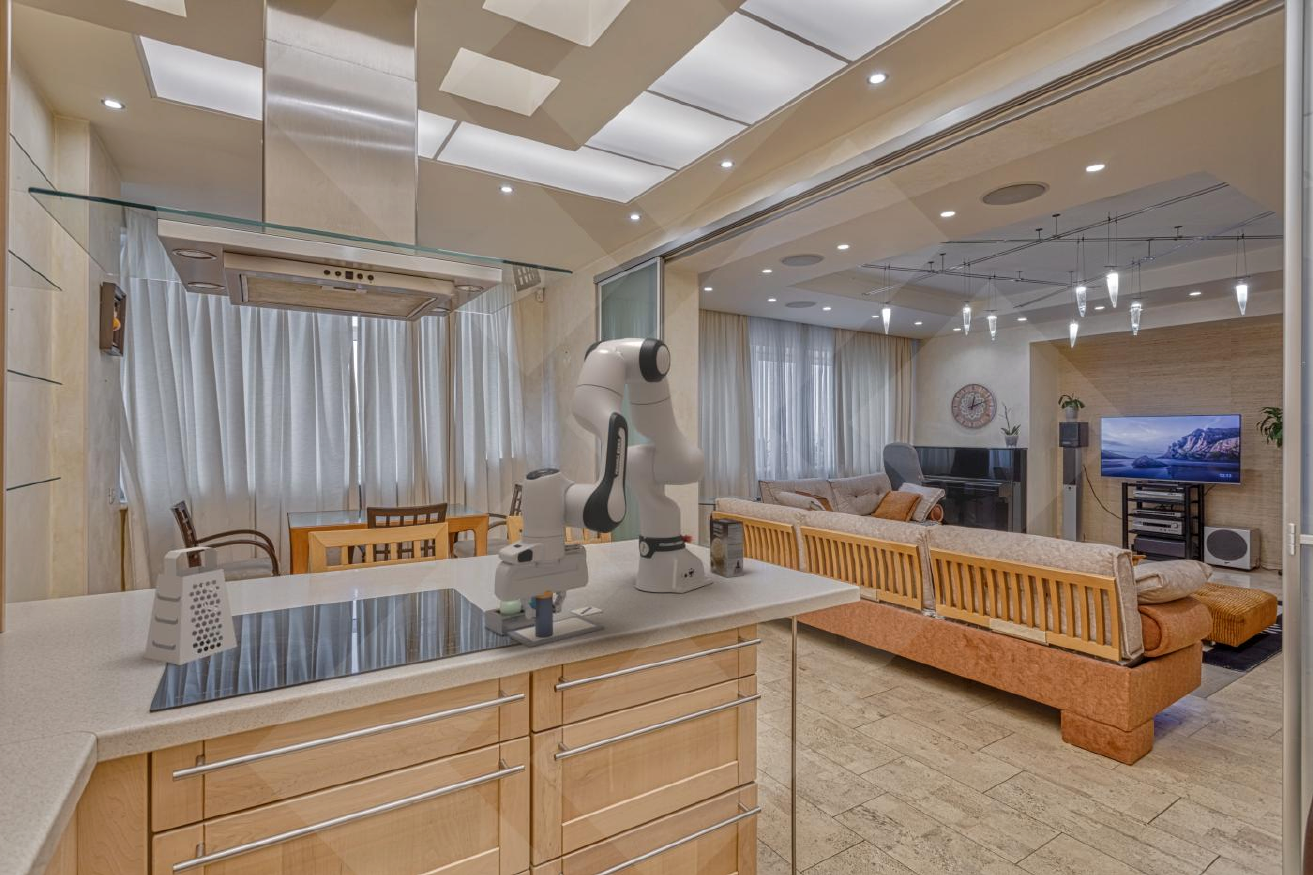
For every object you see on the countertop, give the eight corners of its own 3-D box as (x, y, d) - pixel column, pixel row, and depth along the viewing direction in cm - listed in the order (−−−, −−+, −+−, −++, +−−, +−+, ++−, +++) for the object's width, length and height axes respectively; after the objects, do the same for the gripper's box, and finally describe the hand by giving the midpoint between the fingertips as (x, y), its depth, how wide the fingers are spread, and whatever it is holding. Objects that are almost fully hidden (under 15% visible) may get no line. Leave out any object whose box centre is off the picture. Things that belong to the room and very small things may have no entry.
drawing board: (578, 618, 141) (578, 615, 141) (604, 628, 133) (604, 625, 133) (506, 634, 129) (506, 631, 129) (529, 647, 122) (529, 643, 122)
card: (591, 607, 149) (591, 605, 149) (602, 611, 146) (602, 610, 146) (569, 612, 146) (569, 610, 146) (581, 616, 142) (581, 615, 142)
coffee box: (708, 572, 187) (708, 519, 187) (726, 569, 191) (725, 517, 190) (727, 578, 179) (726, 522, 179) (744, 575, 183) (744, 521, 182)
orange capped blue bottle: (547, 630, 130) (547, 585, 130) (557, 634, 127) (556, 589, 127) (531, 634, 127) (530, 589, 127) (540, 639, 124) (540, 592, 124)
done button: (514, 615, 137) (514, 598, 137) (524, 620, 134) (524, 602, 134) (496, 619, 134) (496, 601, 134) (505, 624, 131) (505, 605, 131)
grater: (237, 646, 123) (236, 546, 123) (179, 665, 113) (178, 556, 113) (202, 640, 127) (201, 543, 127) (144, 657, 117) (143, 552, 117)
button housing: (518, 619, 140) (518, 604, 140) (535, 628, 134) (535, 611, 134) (485, 626, 135) (485, 610, 135) (501, 636, 129) (501, 619, 129)
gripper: (577, 540, 136) (578, 603, 136) (490, 552, 123) (491, 621, 123) (594, 544, 131) (594, 609, 131) (505, 556, 118) (505, 629, 118)
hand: (543, 615), depth 127 cm, fingers open, 5 cm apart
